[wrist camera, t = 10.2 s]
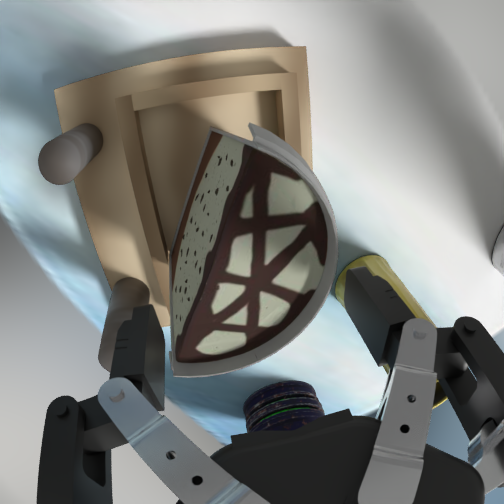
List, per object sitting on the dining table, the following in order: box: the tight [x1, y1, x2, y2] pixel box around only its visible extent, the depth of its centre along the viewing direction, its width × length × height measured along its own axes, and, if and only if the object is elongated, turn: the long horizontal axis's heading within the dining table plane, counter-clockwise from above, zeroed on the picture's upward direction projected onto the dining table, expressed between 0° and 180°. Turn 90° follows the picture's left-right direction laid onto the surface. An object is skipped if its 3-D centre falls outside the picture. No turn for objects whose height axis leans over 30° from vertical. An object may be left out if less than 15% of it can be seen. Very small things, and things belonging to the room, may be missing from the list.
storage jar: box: [243, 381, 325, 433], centre depth 33 cm, size 10×10×15 cm
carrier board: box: [38, 46, 313, 372], centre depth 20 cm, size 16×20×9 cm
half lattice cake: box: [169, 122, 338, 378], centre depth 18 cm, size 12×6×10 cm, turn 159°
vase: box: [335, 255, 448, 409], centre depth 25 cm, size 6×6×14 cm
